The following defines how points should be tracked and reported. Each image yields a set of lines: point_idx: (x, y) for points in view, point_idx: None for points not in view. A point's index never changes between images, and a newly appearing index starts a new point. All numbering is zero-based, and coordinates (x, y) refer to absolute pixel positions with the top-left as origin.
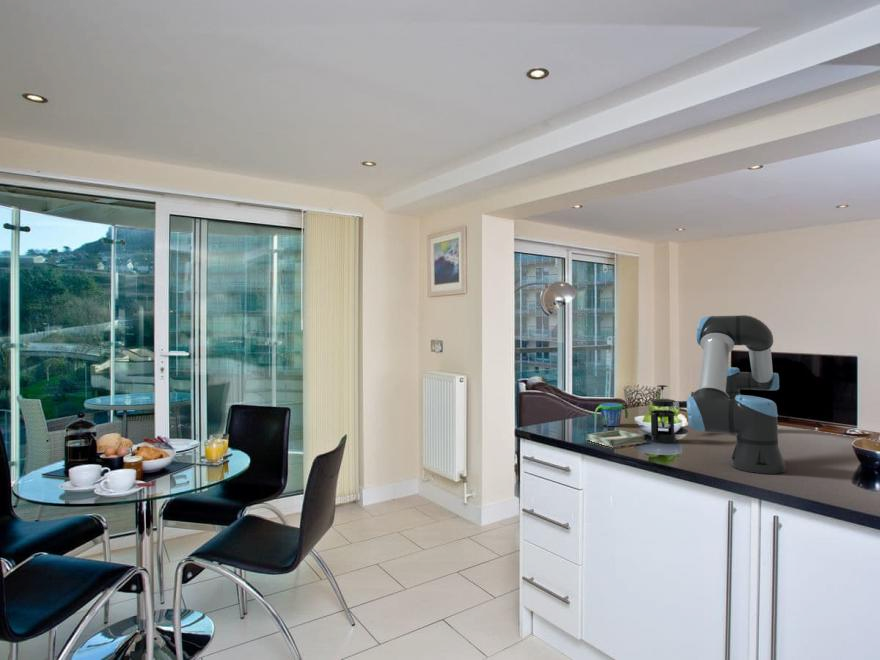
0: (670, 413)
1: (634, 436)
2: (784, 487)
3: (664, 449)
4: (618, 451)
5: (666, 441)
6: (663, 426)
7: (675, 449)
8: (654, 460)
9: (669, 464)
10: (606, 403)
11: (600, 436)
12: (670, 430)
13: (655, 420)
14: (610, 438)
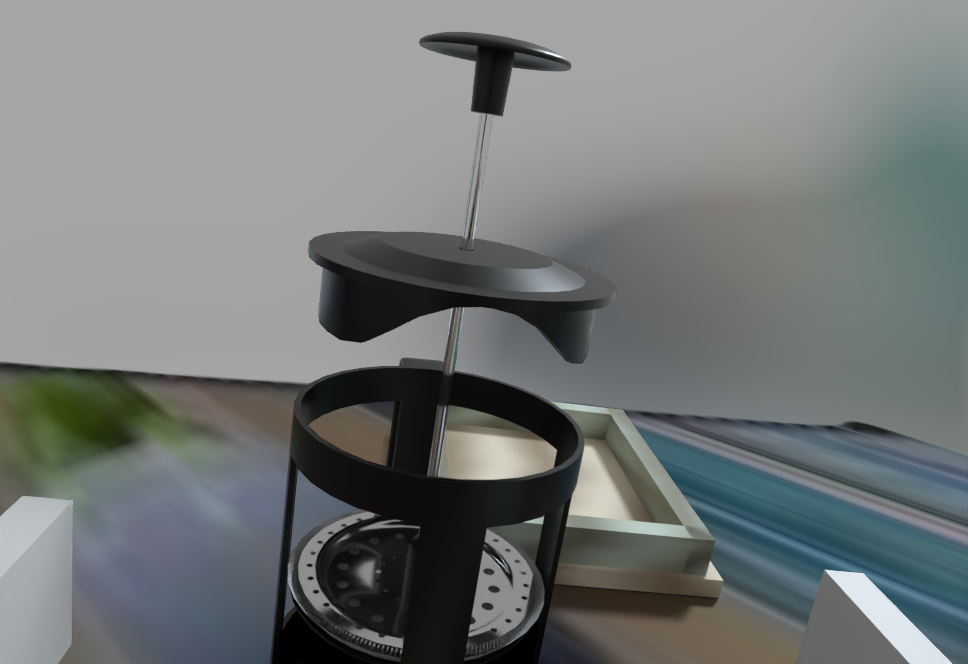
0: (304, 392)
1: (442, 472)
2: None
3: (180, 527)
4: (344, 410)
5: (302, 655)
6: (395, 562)
7: (107, 565)
8: (102, 389)
9: (2, 379)
10: None
11: (625, 464)
12: None
13: (422, 444)
14: (583, 485)
